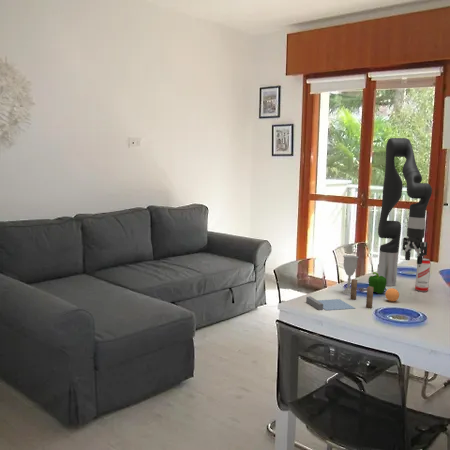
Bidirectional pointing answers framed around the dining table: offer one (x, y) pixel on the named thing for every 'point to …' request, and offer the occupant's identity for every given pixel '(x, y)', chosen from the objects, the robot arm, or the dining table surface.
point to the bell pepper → (377, 283)
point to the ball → (392, 294)
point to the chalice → (349, 269)
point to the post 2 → (369, 297)
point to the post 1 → (353, 289)
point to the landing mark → (335, 304)
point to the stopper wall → (314, 303)
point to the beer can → (423, 275)
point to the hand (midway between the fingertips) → (413, 262)
